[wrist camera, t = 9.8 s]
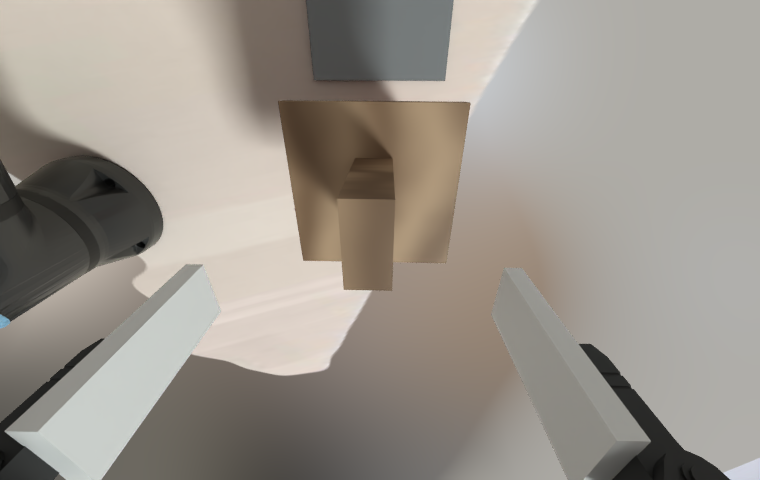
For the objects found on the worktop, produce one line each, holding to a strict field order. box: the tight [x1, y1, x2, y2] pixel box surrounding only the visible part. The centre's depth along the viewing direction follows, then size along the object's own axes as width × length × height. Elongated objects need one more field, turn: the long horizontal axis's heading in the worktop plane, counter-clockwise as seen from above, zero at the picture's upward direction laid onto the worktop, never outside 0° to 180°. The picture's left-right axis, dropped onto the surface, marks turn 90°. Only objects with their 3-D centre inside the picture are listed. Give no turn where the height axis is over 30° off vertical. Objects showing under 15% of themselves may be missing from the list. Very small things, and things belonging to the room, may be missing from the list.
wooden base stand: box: [278, 100, 470, 291], centre depth 20 cm, size 14×14×10 cm
